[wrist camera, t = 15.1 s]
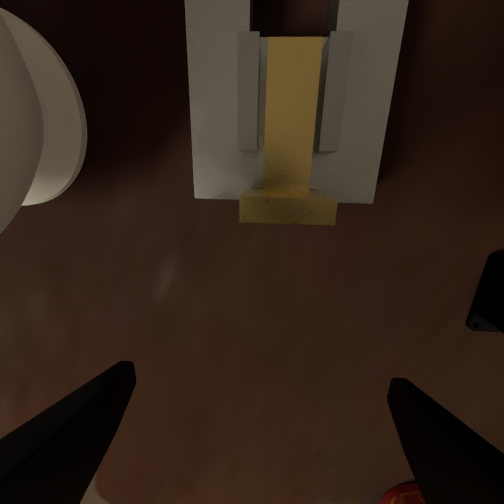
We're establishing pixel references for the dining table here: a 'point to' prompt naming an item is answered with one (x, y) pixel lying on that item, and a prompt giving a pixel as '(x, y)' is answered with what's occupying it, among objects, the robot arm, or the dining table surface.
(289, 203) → the key
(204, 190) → the socket
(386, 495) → the canned food
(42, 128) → the decorative vase
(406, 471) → the dining table surface
